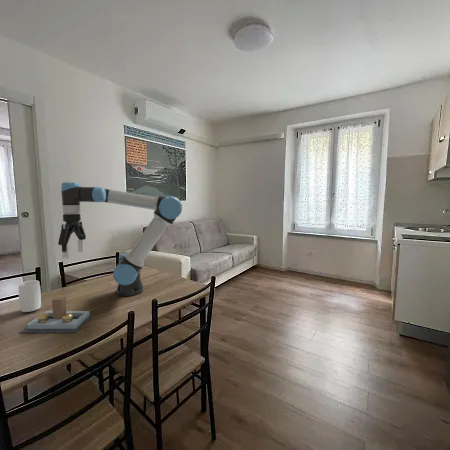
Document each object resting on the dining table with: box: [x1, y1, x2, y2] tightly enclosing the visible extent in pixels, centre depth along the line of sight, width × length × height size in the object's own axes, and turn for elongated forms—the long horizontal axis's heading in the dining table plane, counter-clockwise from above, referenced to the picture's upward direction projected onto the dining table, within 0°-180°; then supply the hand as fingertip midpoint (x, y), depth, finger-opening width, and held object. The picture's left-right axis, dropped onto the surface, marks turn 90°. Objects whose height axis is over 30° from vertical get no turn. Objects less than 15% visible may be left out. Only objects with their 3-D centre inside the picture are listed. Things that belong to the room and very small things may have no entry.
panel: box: [26, 296, 91, 329], centre depth 109 cm, size 12×20×11 cm, turn 92°
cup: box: [18, 279, 42, 313], centre depth 120 cm, size 8×8×14 cm
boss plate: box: [20, 312, 93, 334], centre depth 109 cm, size 22×14×5 cm, turn 92°
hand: (73, 254), depth 126 cm, fingers open, 13 cm apart
